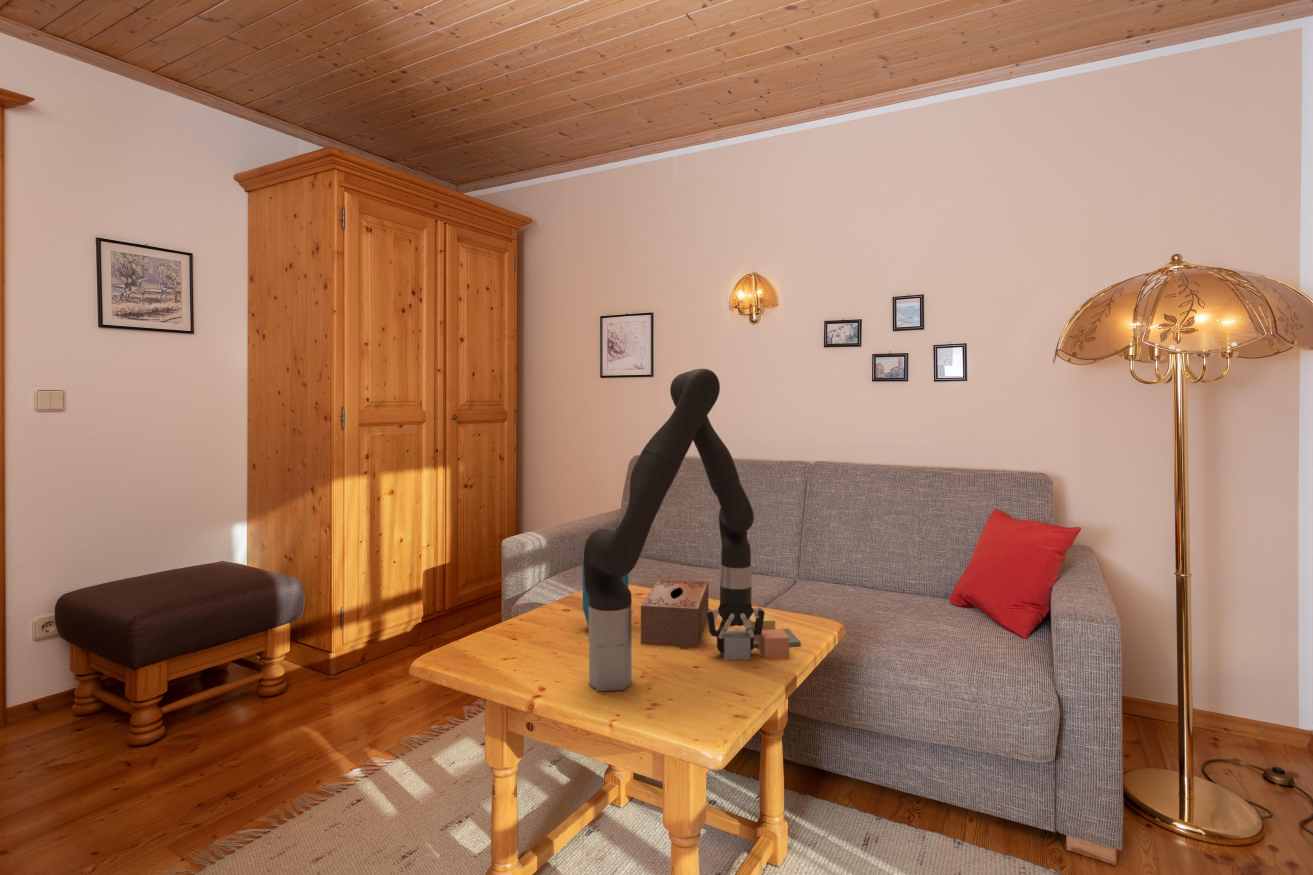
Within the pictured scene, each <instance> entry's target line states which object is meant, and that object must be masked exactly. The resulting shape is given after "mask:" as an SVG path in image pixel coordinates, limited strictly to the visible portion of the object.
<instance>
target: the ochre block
mask: <svg viewBox="0 0 1313 875" xmlns="http://www.w3.org/2000/svg"><path fill="white" fill-rule="evenodd" d="M755 621H756V617H755V616H754V613H753V614H752V615H751V617H750V618H749V619H748V622H749V624H750V626H751V629H754V628H755ZM775 629H776V619H774V617H773V616H772V615H771V614H770V613H769V612H765V614H764V620H763V627H762V630H775ZM746 633H747V631H746ZM754 641H758V635H756V636H754Z"/></svg>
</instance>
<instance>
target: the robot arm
mask: <svg viewBox="0 0 1313 875" xmlns="http://www.w3.org/2000/svg"><path fill="white" fill-rule="evenodd" d="M720 383H721V382H720V380H719V378H718V376H717V374H716V373H715V372H714V371H713V370H710V369H708V368H695V369H692V370H689V371H685V372H683V373H680V374H678V375H677V376H675V377H674V378H673V379H672V381H671V384H670V389H669V391H670V398H671V400H672V402H673V404H674V407H675V408H674V410H673V412H672V414H671V415H670V416H669V418H668V419H667V421H666V422H664V423H663V425H662V426H661V427H660V428H659V429H658V430H657V431H656V432H655V434H653V435H652V436H651V438H650V439H649V441H648V442H646V444H645V446H644V447H643V449H642V451H641V452H640V455H639V456H638V458H637V461H636V462H635V464H634V466H633V468H632V470H631V474H630V477H629V479H630V480H629V496H628V504H627V508H626V511H625V513H624V516H623V517H622V519H621V521H620V523H619V525H618V527H617V528H616V530H613V529H608V528H598V529H597V530H594V531H593V532H592V533H591V534H590V535H589V536H588V538H587V540H586V541H585V544H584V548H583V554H584V579H585V589H586V593H587V595H588V598H589V628H588V679H589V681H588V683H589V686H590V687H591V688H593V689H595V690H596V692H612V691H614V692H615V691H626V690H627V689H626V688H628V687H629V686H630V685H632V682H633V681H632V672H633V671H632V667H633V666H632V615H633V614H632V602H633V599H632V592H631V589H629V586H628V587H627V586H626V585H625V583H624V582H623V580H622V577H623V576H625V575H627V574H628V575H629V574H630V573H631V571H632V570H633V569H634V568H635V567H636V565H637V564H638V561H639V559H640V557H641V554H642V552H643V549H644V547H645V543H646V541H647V538H648V535H649V534H650V532H651V531H650V530H651V528H652V525H653V523H654V520H655V518H656V517H657V514H658V512H659V510H660V508H661V506H662V504H663V501H664V499H665V498H666V496H667V493H668V491H669V490H670V488H671V486H672V485H673V483H674V480H675V479H676V476H677V475H678V472H679V470H680V468H681V466H682V463H683V461H684V459H685V457H686V456H687V453H688V451H689V449H690V447H691V445H692V443H694V445H695V447H696V450H697V452H698V454H699V457H700V459H701V462H702V464H703V468H704V471H705V473H706V474H705V475H706V477H707V478H708V482H709V485H710V487H711V490H712V492H713V493H714V495H715V496H716V497H717V500H718V503H719V506H720V509H719V512H718V513H719V514H718V524H719V525H718V527H719V533H720V541H721V551H720V552H721V554H720V555H721V556H720V562H721V563H720V564H721V565H720V572H719V574H720V575H719V605H718V607H717V609H710V608H708V610H707V617H708V618H707V622H708V623H707V624H708V631H709V633H710V635H711V637H715V638H716V648H717V651H718V652H719V653H720V654H721V655H722V654H724V638H723V637H724V635H725V633H726V631H728V630H729V628H730V627H735V626H737V627H744V630H746V631H747V634H748V636H749V637H750V654H751V653H752V651H753V650H754V649H755V648H754V646H753V645H754V636H756V635H761V633H762V627H763V620H764V614H765V613H766V612H765V611H764V609H763V608H762V607H758V608H755V607H753V606H752V586H753V585H752V580H753V578H752V577H753V576H752V564H751V563H752V562H751V561H752V560H751V559H752V556H751V555H752V549H751V544H750V542H749V540H748V531H749V530H750V529H751V527H752V526H753V525H754V524H753V523H754V521H755V515H754V511H753V507H752V505H751V504H752V503H751V502H750V499H749V498H748V496H747V494H746V492H745V489H744V487H743V486H742V483H741V480H740V477H739V474H738V471H737V468H736V465H735V461H734V459H733V456H732V454H731V452H730V450H729V448H727V446H726V444H725V443H724V442H723V440H722V439H721V437H720V436H719V435H718V433H717V431H715V429H714V427H713V425H712V423H711V422H710V419H709V416H708V415H709V413H710V412H711V411H712V409H713V408H714V406H715V404H716V402H717V400H718V398H719V395H720V391H721V390H720V388H721V385H720ZM752 614H754V616H755V617H756V621H755V628H754V629H751V626H750V624H749V622H748V619H749V618H750V617H751V615H752ZM718 615H719V616H720V617H721V622H720V623H719V627H718V629H716V623H715V620H716V619H717V617H718Z"/></svg>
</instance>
